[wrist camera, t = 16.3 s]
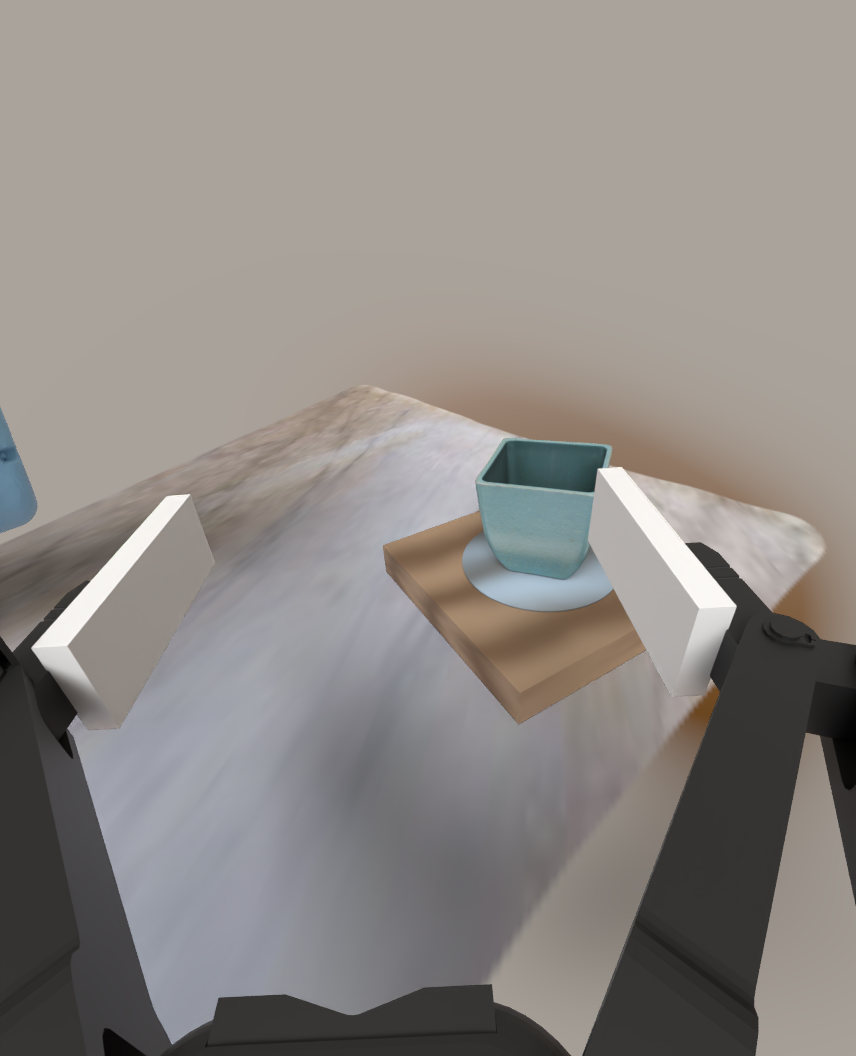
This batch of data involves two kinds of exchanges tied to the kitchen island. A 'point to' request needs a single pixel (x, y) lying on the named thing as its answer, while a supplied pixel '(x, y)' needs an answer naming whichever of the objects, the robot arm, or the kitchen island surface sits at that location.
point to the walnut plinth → (514, 615)
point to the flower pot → (540, 503)
